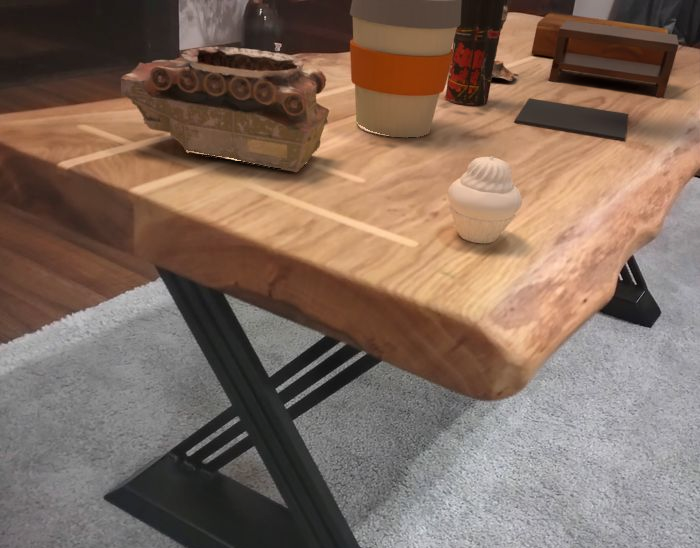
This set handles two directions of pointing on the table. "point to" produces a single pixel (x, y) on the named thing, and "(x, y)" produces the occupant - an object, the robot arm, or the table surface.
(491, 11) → the deodorant
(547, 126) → the mat
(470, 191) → the muffin
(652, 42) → the rack
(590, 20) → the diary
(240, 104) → the toy armored vehicle
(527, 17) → the table surface
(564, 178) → the table surface
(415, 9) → the reusable coffee cup
